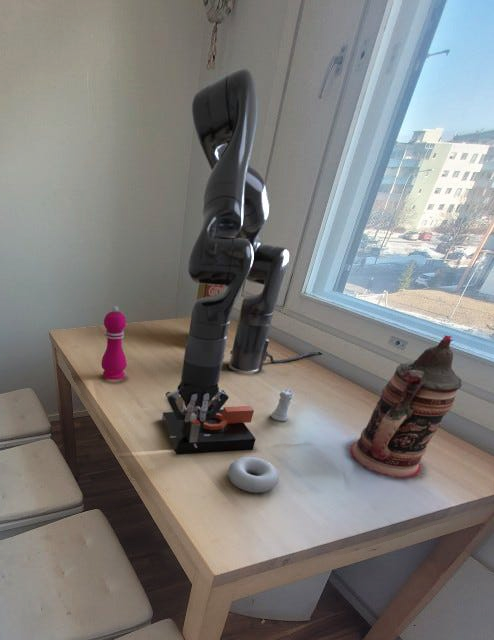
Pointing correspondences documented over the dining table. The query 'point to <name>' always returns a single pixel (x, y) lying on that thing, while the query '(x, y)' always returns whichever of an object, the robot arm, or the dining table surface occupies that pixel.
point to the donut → (250, 482)
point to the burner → (215, 421)
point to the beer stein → (408, 413)
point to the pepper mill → (114, 345)
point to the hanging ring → (231, 417)
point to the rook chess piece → (283, 406)
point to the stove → (208, 437)
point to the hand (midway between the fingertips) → (190, 434)
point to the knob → (193, 429)
